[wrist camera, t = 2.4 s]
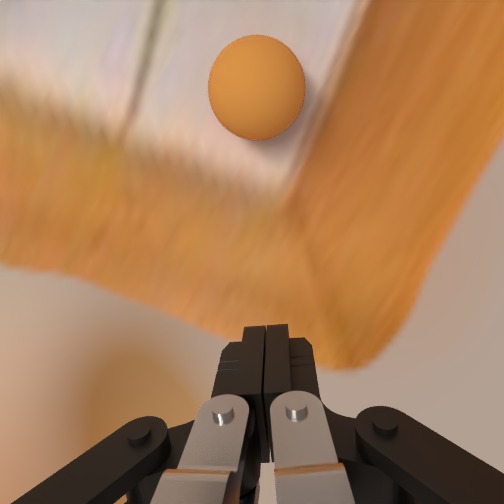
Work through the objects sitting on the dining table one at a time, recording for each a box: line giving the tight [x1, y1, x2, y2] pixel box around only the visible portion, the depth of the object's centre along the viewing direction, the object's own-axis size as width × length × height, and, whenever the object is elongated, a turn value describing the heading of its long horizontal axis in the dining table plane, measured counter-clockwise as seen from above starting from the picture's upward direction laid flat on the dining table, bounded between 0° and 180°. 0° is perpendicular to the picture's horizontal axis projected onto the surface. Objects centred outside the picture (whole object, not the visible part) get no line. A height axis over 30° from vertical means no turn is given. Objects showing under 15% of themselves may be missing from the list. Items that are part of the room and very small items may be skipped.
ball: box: [208, 35, 305, 140], centre depth 22 cm, size 6×6×6 cm
